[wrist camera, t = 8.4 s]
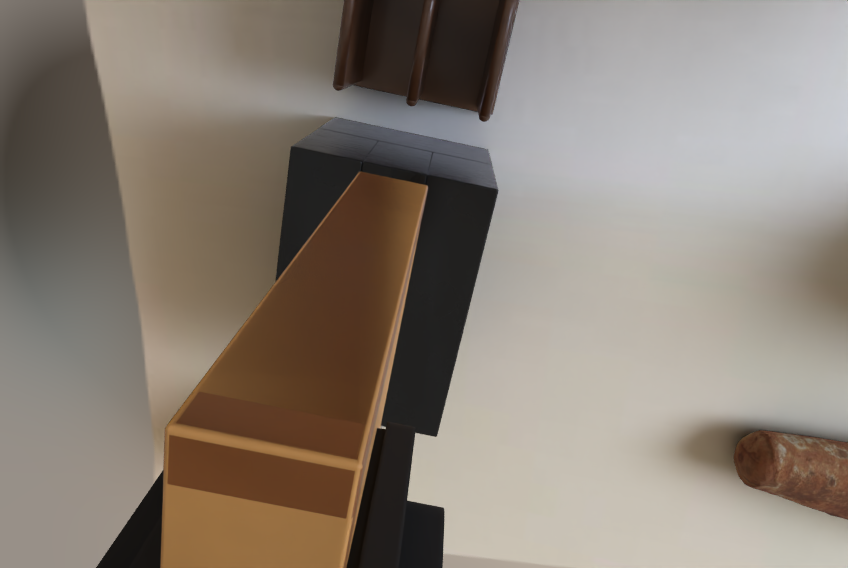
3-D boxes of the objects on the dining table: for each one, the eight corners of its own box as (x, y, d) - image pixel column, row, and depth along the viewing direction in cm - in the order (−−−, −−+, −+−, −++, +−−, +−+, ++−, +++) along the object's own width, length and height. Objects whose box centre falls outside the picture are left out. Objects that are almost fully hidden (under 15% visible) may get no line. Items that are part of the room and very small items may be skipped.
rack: (371, -102, 31) (348, -138, 24) (533, -66, 31) (553, -93, 25) (345, 82, 34) (318, 92, 28) (491, 113, 35) (499, 131, 28)
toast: (358, 171, 16) (161, 426, 5) (428, 185, 16) (363, 466, 5) (317, 441, 19) (145, 918, 9) (375, 452, 19) (272, 941, 9)
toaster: (318, 113, 35) (268, 141, 26) (488, 149, 35) (498, 189, 26) (292, 314, 40) (242, 398, 31) (441, 345, 40) (436, 437, 31)
